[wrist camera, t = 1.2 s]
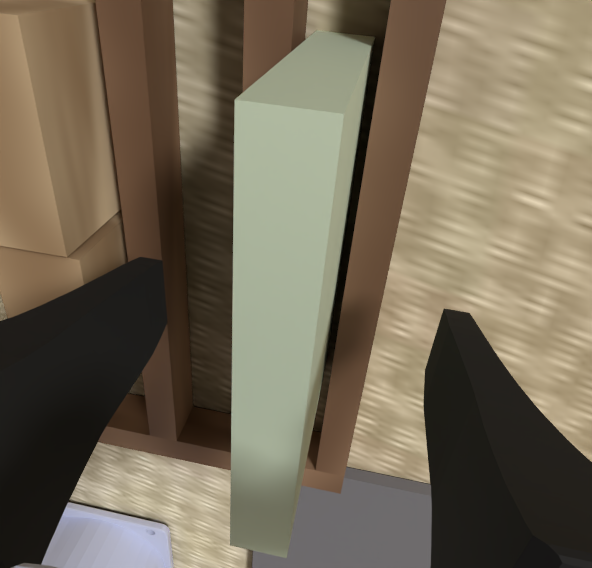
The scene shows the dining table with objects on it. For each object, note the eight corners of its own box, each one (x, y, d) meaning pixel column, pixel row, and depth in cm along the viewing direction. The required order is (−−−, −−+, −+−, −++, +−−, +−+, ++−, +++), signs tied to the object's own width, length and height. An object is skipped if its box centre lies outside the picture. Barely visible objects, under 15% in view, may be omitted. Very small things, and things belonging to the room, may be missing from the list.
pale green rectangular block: (287, 355, 21) (229, 545, 14) (317, 29, 14) (234, 99, 7) (326, 363, 20) (286, 558, 14) (375, 36, 14) (344, 114, 7)
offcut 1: (58, 181, 18) (-32, 240, 14) (21, -12, 15) (-109, 0, 11) (138, 193, 18) (66, 257, 14) (117, -1, 14) (17, 15, 11)
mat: (253, 576, 31) (251, 587, 30) (261, 449, 24) (258, 459, 23) (489, 632, 29) (491, 644, 29) (569, 513, 22) (572, 526, 22)
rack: (67, 397, 25) (43, 430, 23) (-96, -261, 12) (-176, -295, 10) (345, 455, 23) (340, 494, 21) (487, -229, 11) (501, -262, 9)
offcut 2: (86, 321, 22) (28, 387, 18) (61, 191, 18) (-15, 243, 15) (152, 333, 21) (106, 403, 18) (139, 204, 18) (79, 259, 15)
